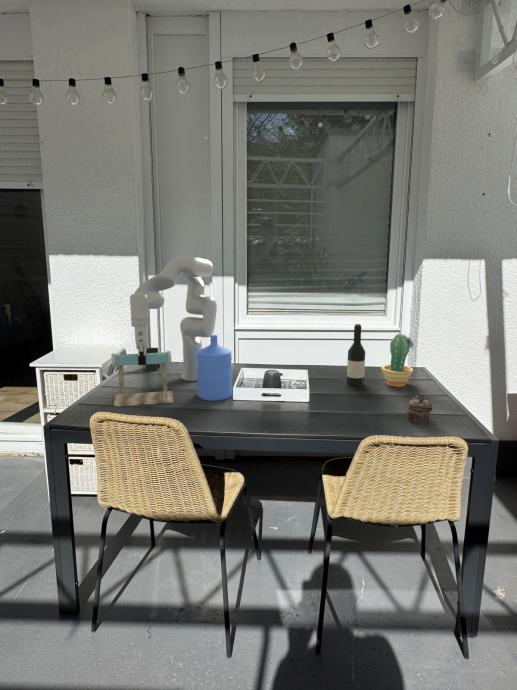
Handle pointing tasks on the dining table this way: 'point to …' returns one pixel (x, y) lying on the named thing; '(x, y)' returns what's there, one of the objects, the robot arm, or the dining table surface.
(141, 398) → the stand
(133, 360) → the teal long bar
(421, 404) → the cupcake
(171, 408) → the dining table surface
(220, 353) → the water jug
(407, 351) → the potted cactus
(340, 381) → the dining table surface
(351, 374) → the wine bottle
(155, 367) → the phone stand
